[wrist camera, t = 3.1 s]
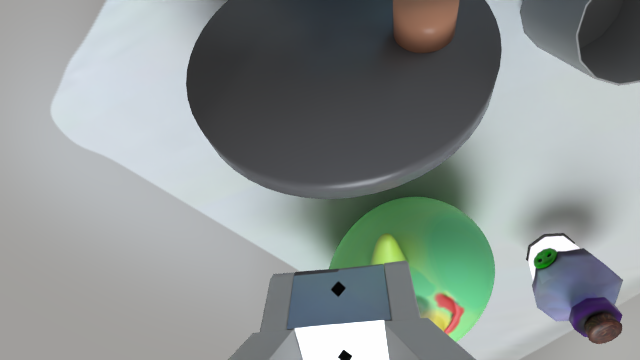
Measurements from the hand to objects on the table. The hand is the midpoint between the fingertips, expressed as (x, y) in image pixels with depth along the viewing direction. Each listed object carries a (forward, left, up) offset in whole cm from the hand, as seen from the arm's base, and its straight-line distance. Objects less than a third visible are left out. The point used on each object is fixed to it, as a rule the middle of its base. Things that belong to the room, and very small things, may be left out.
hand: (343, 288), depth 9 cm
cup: (+1, +20, -33) cm, 39 cm away
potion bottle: (+29, +21, -33) cm, 49 cm away
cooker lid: (-1, 0, -17) cm, 17 cm away
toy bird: (+24, +3, -33) cm, 41 cm away
